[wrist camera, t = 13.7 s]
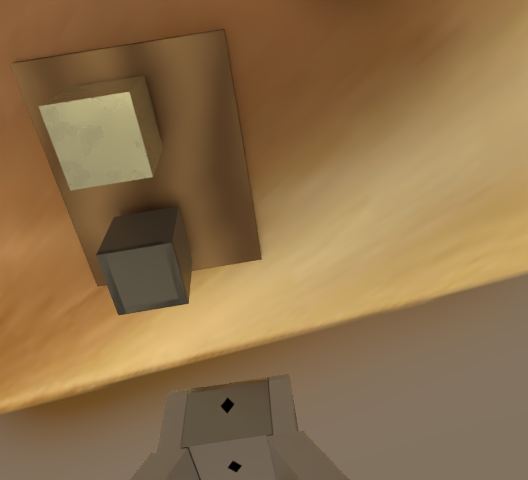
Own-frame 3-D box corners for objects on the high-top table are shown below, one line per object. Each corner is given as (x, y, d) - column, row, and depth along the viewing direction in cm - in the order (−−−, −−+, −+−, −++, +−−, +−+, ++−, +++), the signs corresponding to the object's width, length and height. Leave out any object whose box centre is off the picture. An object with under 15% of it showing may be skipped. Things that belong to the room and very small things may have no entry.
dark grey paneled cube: (178, 206, 35) (171, 242, 30) (192, 260, 38) (188, 303, 33) (113, 216, 35) (95, 255, 30) (132, 271, 38) (118, 315, 33)
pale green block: (147, 72, 32) (129, 91, 25) (165, 142, 34) (153, 177, 28) (75, 83, 32) (38, 106, 25) (98, 153, 34) (70, 190, 28)
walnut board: (223, 29, 32) (224, 30, 31) (260, 253, 41) (261, 259, 40) (15, 62, 32) (9, 64, 31) (100, 280, 41) (97, 286, 40)
